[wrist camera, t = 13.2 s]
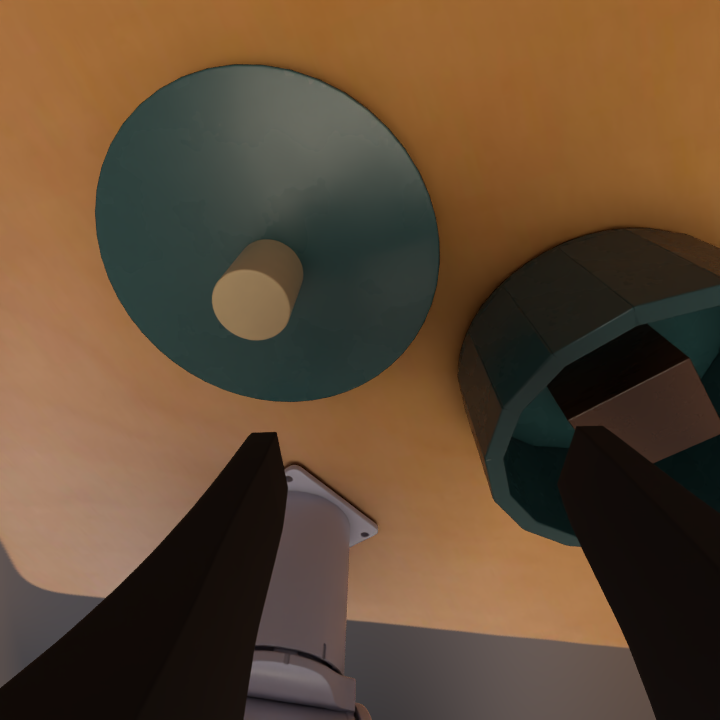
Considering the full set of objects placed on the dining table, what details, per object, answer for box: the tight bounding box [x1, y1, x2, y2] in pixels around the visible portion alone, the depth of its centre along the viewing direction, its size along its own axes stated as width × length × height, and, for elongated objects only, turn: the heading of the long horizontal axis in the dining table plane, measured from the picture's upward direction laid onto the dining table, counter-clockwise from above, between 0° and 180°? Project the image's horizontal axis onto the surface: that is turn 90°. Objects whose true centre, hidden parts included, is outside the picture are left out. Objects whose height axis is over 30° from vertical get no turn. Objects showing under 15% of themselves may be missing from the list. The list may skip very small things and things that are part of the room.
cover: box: [95, 64, 440, 402], centre depth 15 cm, size 13×13×4 cm
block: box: [547, 324, 720, 463], centre depth 17 cm, size 4×4×4 cm
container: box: [458, 228, 720, 547], centre depth 17 cm, size 12×12×6 cm
